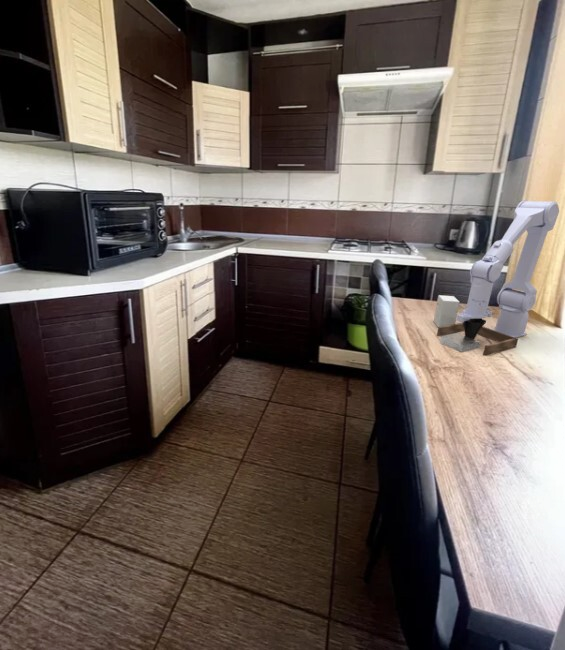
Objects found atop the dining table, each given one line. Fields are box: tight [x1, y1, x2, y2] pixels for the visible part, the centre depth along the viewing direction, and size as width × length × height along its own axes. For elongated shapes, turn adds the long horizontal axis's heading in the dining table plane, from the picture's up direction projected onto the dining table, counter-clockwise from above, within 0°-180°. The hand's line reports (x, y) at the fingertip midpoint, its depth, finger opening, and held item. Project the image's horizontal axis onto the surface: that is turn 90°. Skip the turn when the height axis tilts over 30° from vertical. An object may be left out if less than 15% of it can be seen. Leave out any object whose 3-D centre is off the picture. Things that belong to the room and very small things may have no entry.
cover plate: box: [439, 332, 481, 353], centre depth 110 cm, size 8×8×2 cm
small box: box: [433, 294, 461, 328], centre depth 126 cm, size 8×6×10 cm
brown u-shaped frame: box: [436, 322, 519, 356], centre depth 113 cm, size 15×18×3 cm
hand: (469, 339), depth 112 cm, fingers closed
